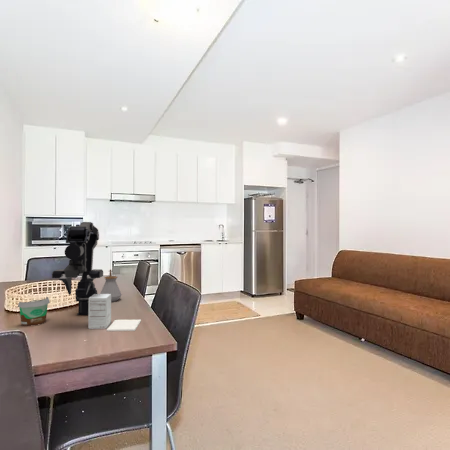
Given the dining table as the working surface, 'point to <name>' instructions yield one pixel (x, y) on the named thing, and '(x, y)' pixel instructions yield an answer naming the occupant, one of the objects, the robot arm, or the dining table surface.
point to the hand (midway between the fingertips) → (77, 294)
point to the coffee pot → (111, 287)
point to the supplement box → (99, 311)
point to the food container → (33, 312)
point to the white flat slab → (124, 325)
